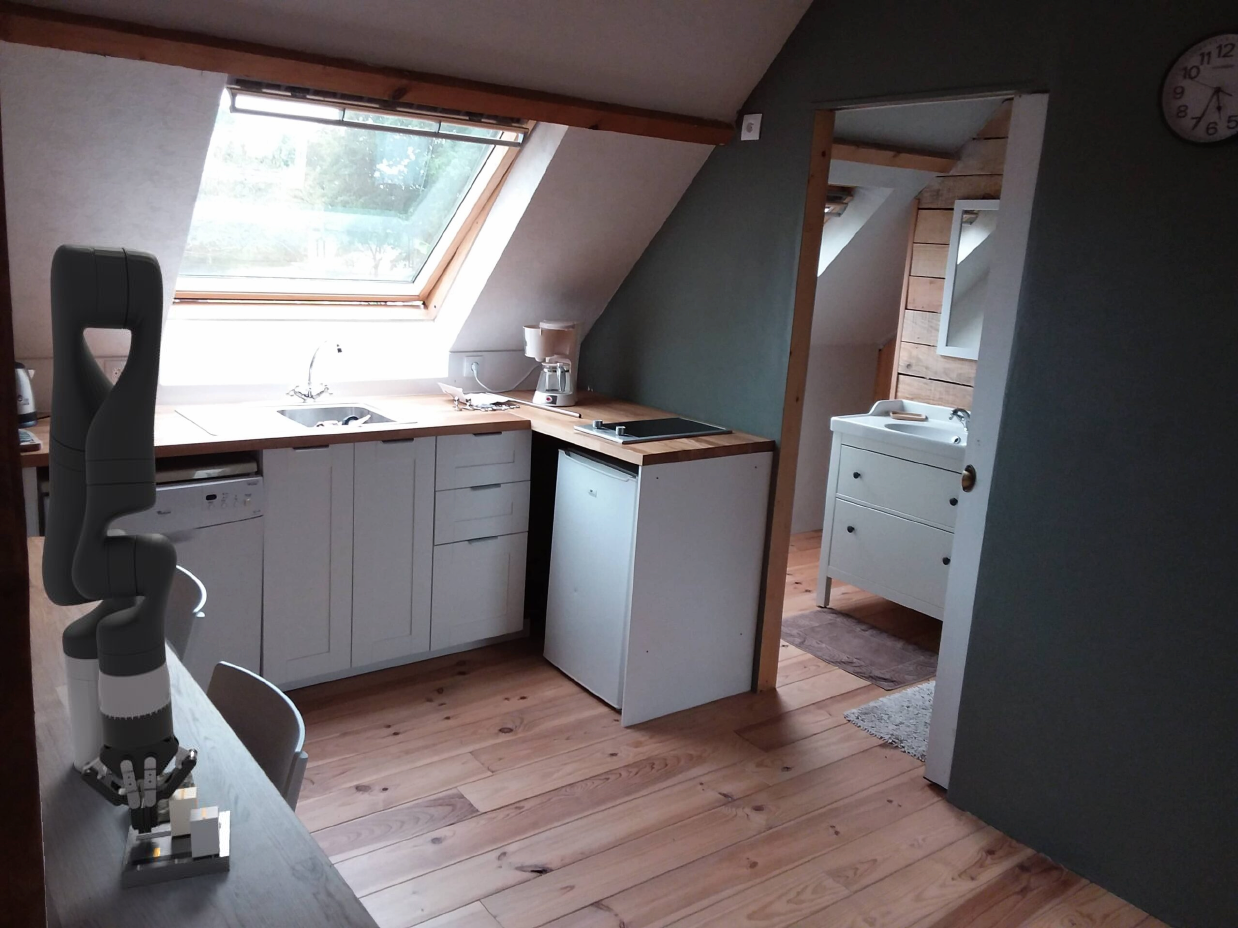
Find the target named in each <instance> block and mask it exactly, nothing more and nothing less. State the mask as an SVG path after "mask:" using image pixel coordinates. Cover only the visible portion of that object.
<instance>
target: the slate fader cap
mask: <svg viewBox="0 0 1238 928" xmlns="http://www.w3.org/2000/svg"><path fill="white" fill-rule="evenodd" d="M219 812H220V811H219V805H215V806H208V807H201V808H198V809H194V810H191V815H190V830H191V846H192V858H193V857H199V856H205V855H211V854H217V853H220V829H219Z"/></svg>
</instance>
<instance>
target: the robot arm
mask: <svg viewBox="0 0 1238 928" xmlns="http://www.w3.org/2000/svg"><path fill="white" fill-rule="evenodd" d="M49 282H50V283H49V285H50V288H49V289H50V290H49V291H50V311H51V312H50V314H51V339H52V359H53V360H52V361H53V362H52V363H53V364H52V365H53V367H52V369H53V370H52V388H51V404H50V417H49V433H48V434H49V435H48V472H49V474H48V475H49V482H48V484H49V488H48V489H49V491H48V492H49V493H48V494H49V495H48V509H47V516H46V517H47V518H46V525H45V533H44V540H43V548H42V559H41V577H42V585H43V588H44V591H45V594H46V596H47V598H48V599H49V601H51V603H52V604H54V605H56V606H59V607H73V606H79V605H80V606H81V605H84V604H90V603H94V602H100V603H98V605H97V606H95V607H94V609H92V610H91V611H89V612H88V613H86V614H85V615H83V616H81V617H79V618H77V619H76V620H74V621H73V622H71V623H69V625H67V626H66V627H65V628H64V630H63V631H62V635H61V636H62V638H61V641H62V651H63V652H62V653H63V662H64V663H63V665H64V672H65V681H66V682H65V683H66V693H67V704H68V716H69V725H70V735H71V747H72V757H73V765H74V766H73V767H74V768H75V769H76V771H78V772H80V773H81V776H80V778H81V780H82V781H83V782H84V783H86V784H87V785H88V786H89V787H91V789H92V790H93V791H95V792H96V793H98V794H99V795H100V796H101V797H103V798H104V800H107V802H108V803H110V804H111V805H112V806H114V807H120V806H122V805H124V806H127V807H129V810H130V820H131V825H132V828H133V830H138V834H145V833H152V829H153V828H154V827H157V824H158V819H159V813H158V802H159V801H160V800H162V799H165V800H166V799H169V798H170V797H171V796H172V795H173V794H174V792H175V791H176V790H177V789H178V787H179V786H180V785H181V783H182V782H183V781H184V780H185V778H186V777H187V776H188V775H189V773H190V772H191V773H192V772H193V770H194V769H195V767H197V760H198V750H197V749H195V748H191V749H189V750H188V749H186V748H184V747H182V746H180V741H179V738H178V737H177V736H176V735H175V732H174V722H173V721H174V718H173V707H172V691H171V690H172V689H171V676H170V670H169V668H168V662H167V651H166V641H165V640H166V637H165V636H166V635H165V624H166V621H165V620H166V612H167V606H168V600H169V596H170V593H171V590H172V586H173V584H174V583H173V582H174V578H175V575H176V571H177V566H178V565H177V563H178V562H177V561H178V555H177V551H176V548H175V546H174V544H173V543H172V542H171V540H170V539H169V538H168V537H167V536H165V535H163V534H160V533H154V532H153V533H139V534H128V533H127V532H126V531H124V530H123V529H118V528H117V529H115V528H113V529H109V528H110V526H111V525H112V524H113V522H116V520H118V519H120V518H123V517H125V516H130V515H134V514H135V515H136V514H140V513H143V512H147V511H149V510H151V509H152V508H153V507H154V506H155V505H156V502H157V483H156V482H157V478H156V475H157V474H156V455H155V453H156V452H155V420H156V419H155V418H156V417H155V416H156V406H157V405H156V404H157V393H158V385H159V384H158V383H159V376H160V375H159V373H160V360H161V344H162V343H161V342H162V331H163V315H164V314H163V311H164V283H163V273H162V269H161V266H160V262H159V259H158V258H157V257H156V255H155V254H154V253H153V252H152V251H150V250H148V249H143V248H137V247H136V248H135V247H124V246H123V247H121V246H112V245H110V246H109V245H100V244H87V243H84V244H83V243H65V244H62V245H60V246H58V247H57V248H56V249H55V252H54V254H53V257H52V261H51V266H50V279H49ZM87 329H103V330H104V329H106V330H107V329H108V330H126V331H127V330H129V332H130V334H131V335H130V344H129V345H130V346H129V352H128V355H127V358H126V362H125V364H124V366H123V368H122V369H123V370H122V371H121V372H120V375H118V376H119V377H118V378H117V381H116V382H115V384H113V382H112V380H110V378H109V377H108V376H107V375H106V374H105V372H104V371H103V369H102V368H101V366H100V365H99V363H98V362H97V359H96V358H95V356H94V355H93V353H92V351H91V349H90V347H89V345H88V342H87V340H86V337H85V334H84V331H85V330H87ZM138 597H144V599H143V600H142V601H141V602H140V603H139V604H138ZM174 758H175V761H174V766H175V767H174V768H172V770H173V771H172V770H171V771H172V772H171V773H170V774H169V776H168V777H167V778H166V779H165V781H164V782H163V784H161V785H159V786H158V776H159V775H160V774H162V773H163V772H165V770H166V768H168V766H169V764H170V763H171V762H172V761H173V759H174ZM110 774H114V776H116V777H117V778H118V779H119V780H121V781H123V785H124V786H123V785H122V784H121V783H119V782H118V780H116V779H115V778H113V776H111V775H110ZM140 779H143V780H144V790H145V798H143V797H142V788H141V782H140Z"/></svg>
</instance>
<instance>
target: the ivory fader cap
mask: <svg viewBox="0 0 1238 928" xmlns="http://www.w3.org/2000/svg"><path fill="white" fill-rule="evenodd" d="M198 798H199V797H198V786H195V787H191V788H184V789H177V790H176V791H175V792H174V794H173V795H172V796H171V797H170V798H169V810H170V824H171V836H178V835H184V834H190V833H191V830H190V815H191V810H194V809H199V800H198Z"/></svg>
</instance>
